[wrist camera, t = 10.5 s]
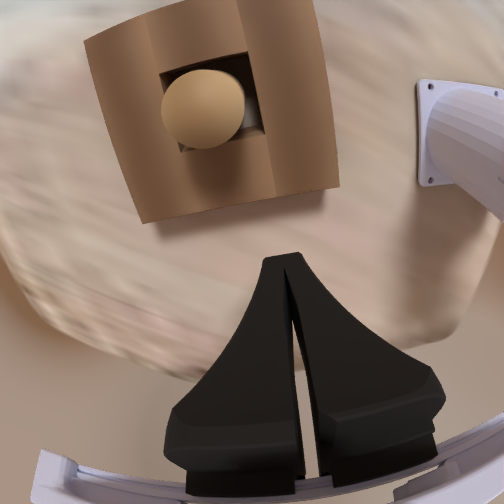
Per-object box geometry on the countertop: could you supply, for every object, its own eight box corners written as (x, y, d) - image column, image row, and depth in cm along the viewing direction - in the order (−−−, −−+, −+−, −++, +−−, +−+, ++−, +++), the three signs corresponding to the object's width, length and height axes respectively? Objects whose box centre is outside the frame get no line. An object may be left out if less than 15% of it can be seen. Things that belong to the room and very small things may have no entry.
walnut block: (297, -6, 12) (307, -19, 9) (327, 169, 19) (339, 186, 16) (106, 43, 13) (83, 41, 11) (155, 203, 20) (142, 224, 17)
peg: (239, 65, 15) (235, 59, 9) (250, 115, 17) (253, 140, 11) (185, 78, 15) (150, 82, 9) (197, 127, 17) (172, 158, 11)
